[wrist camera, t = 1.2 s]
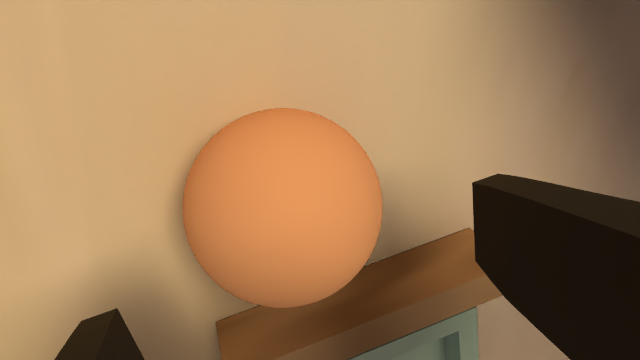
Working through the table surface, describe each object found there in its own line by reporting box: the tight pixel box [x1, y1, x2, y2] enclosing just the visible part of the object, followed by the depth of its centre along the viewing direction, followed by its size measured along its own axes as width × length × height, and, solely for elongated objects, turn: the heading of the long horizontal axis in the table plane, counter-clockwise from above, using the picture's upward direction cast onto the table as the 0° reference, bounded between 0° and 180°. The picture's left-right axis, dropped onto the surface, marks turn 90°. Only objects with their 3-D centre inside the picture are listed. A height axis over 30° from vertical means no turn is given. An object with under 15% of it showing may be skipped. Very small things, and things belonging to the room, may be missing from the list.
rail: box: [216, 228, 502, 360], centre depth 16 cm, size 10×1×2 cm, turn 101°
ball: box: [183, 108, 383, 308], centre depth 12 cm, size 5×5×5 cm
